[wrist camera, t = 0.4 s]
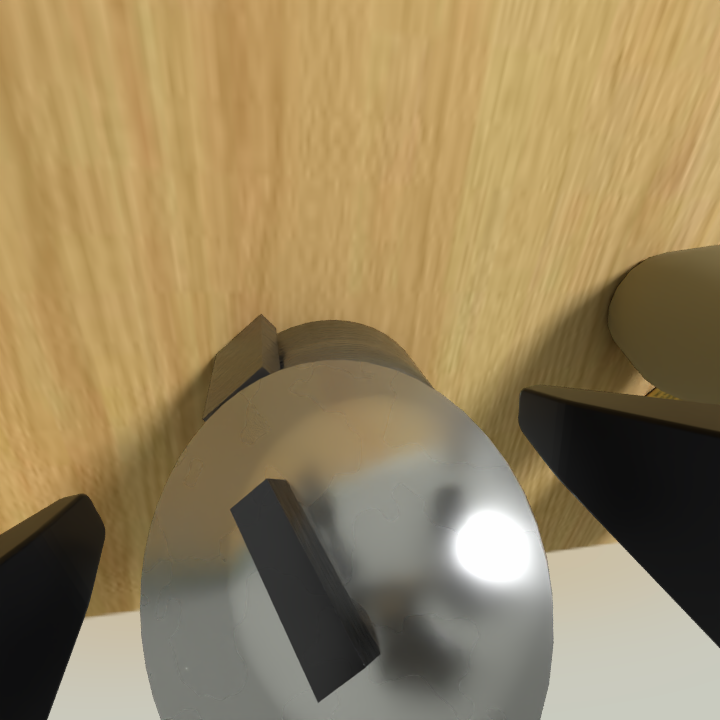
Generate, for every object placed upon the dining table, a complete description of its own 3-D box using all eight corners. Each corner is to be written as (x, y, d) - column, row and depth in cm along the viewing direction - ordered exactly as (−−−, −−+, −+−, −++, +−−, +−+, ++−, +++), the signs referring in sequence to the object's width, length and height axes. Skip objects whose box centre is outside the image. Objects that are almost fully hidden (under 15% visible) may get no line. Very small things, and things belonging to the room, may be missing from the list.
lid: (123, 512, 16) (71, 514, 14) (370, 297, 15) (346, 269, 13) (263, 945, 10) (207, 1035, 9) (682, 666, 9) (715, 706, 7)
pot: (158, 406, 22) (122, 495, 16) (323, 257, 20) (349, 296, 15) (319, 522, 27) (336, 621, 21) (457, 411, 26) (515, 483, 20)
